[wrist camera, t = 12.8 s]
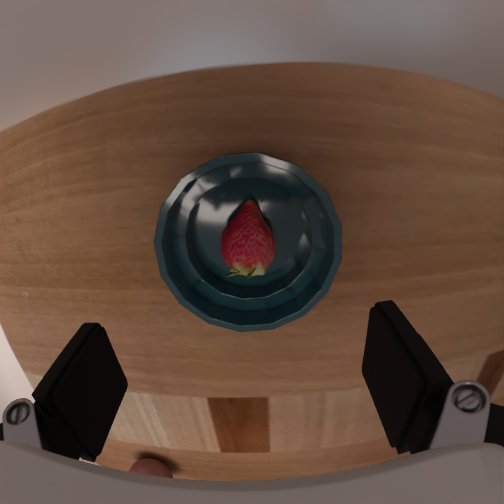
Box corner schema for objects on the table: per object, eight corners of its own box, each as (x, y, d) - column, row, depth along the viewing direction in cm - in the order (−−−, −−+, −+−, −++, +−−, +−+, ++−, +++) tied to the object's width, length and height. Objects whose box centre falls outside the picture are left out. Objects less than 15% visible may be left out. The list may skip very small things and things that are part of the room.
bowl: (162, 164, 23) (140, 168, 19) (322, 147, 23) (338, 147, 18) (187, 305, 28) (175, 335, 23) (326, 293, 27) (339, 322, 22)
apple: (187, 468, 39) (180, 505, 32) (159, 474, 41) (151, 507, 33) (151, 446, 37) (140, 486, 30) (125, 453, 39) (113, 488, 31)
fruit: (280, 200, 24) (286, 214, 19) (270, 269, 26) (273, 296, 21) (227, 194, 24) (220, 205, 19) (220, 263, 26) (213, 289, 21)
